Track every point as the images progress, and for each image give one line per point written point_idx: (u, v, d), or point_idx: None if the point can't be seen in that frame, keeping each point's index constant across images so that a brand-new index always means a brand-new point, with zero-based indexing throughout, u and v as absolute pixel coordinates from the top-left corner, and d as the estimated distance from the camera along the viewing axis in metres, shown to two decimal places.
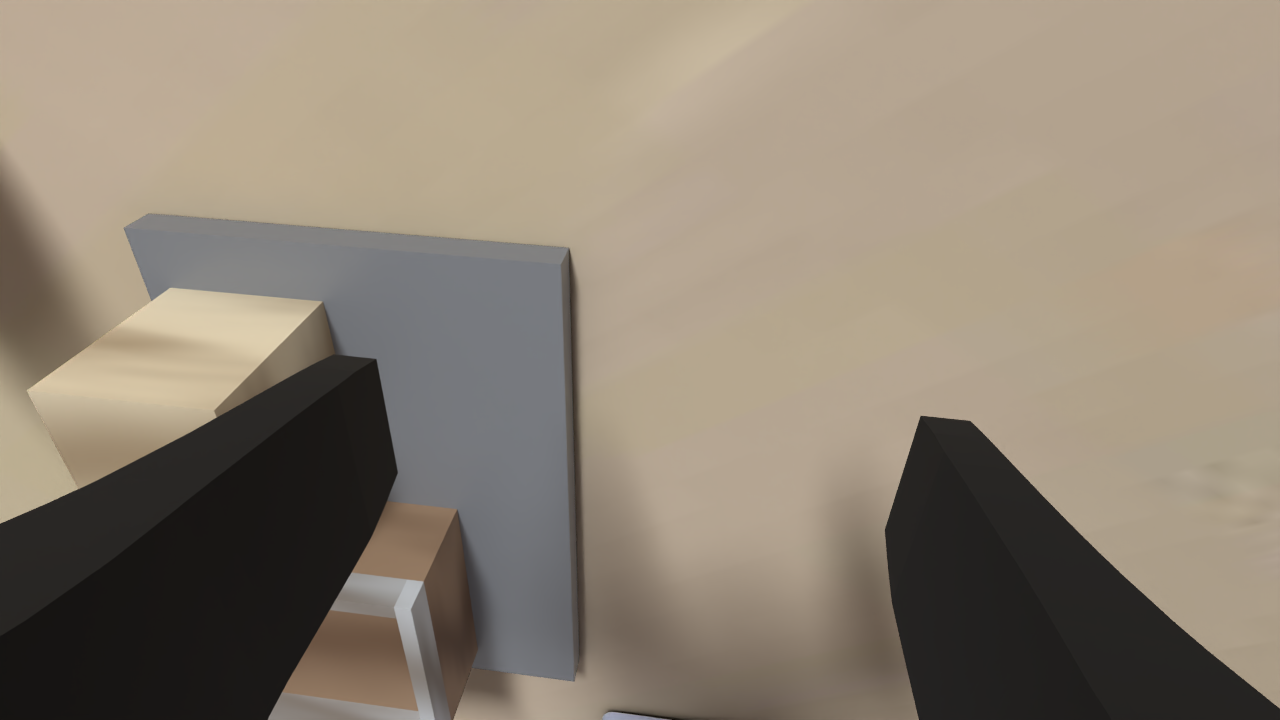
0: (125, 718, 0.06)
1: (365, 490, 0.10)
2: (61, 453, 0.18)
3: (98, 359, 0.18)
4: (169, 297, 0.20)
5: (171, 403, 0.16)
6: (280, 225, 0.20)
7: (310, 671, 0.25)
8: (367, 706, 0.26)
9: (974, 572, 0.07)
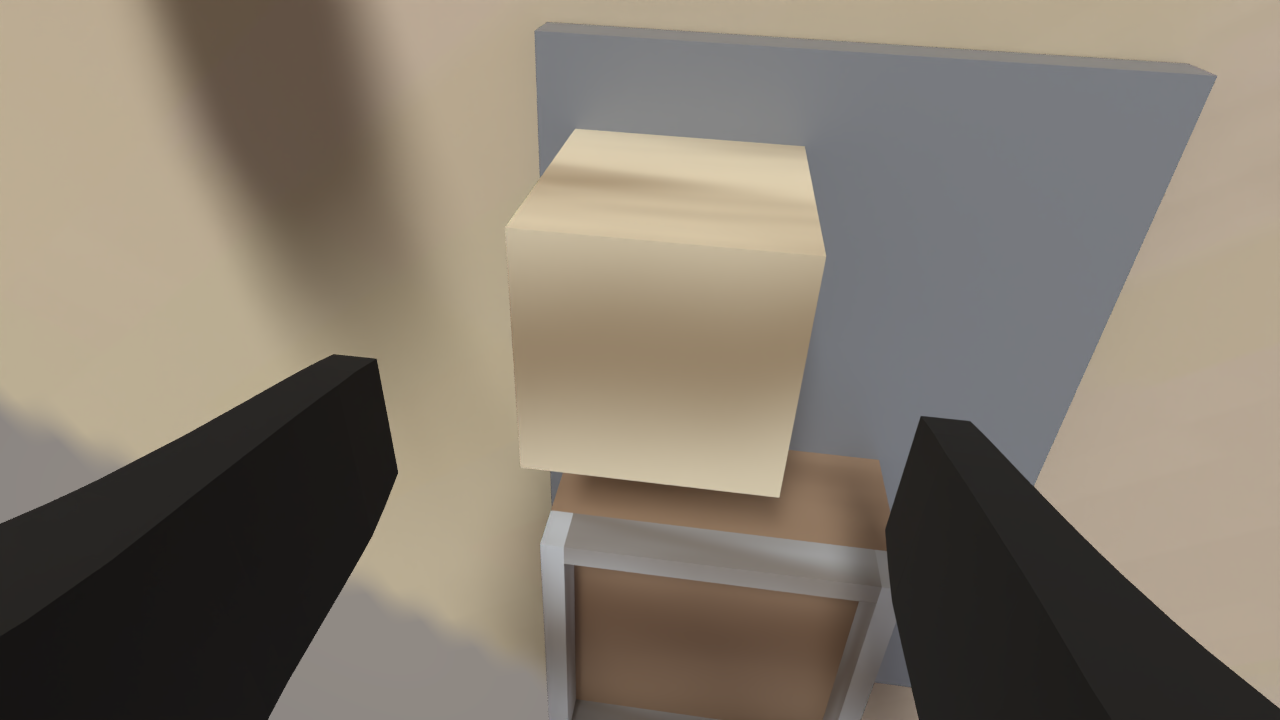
0: (125, 718, 0.06)
1: (365, 490, 0.10)
2: (515, 339, 0.11)
3: (569, 196, 0.12)
4: (587, 137, 0.14)
5: (748, 247, 0.10)
6: (747, 36, 0.14)
7: (662, 676, 0.19)
8: None
9: (974, 572, 0.07)
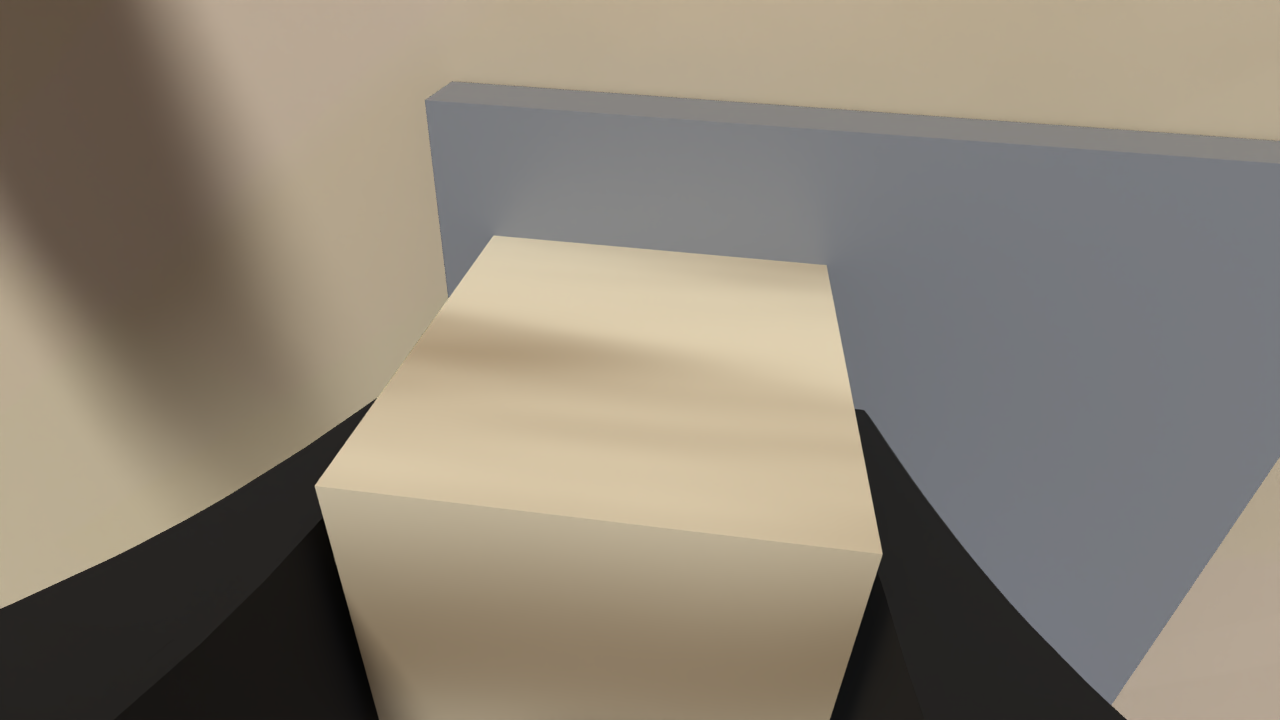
0: None
1: None
2: (360, 632, 0.07)
3: (449, 392, 0.07)
4: (507, 254, 0.10)
5: (741, 530, 0.06)
6: (742, 103, 0.10)
7: None
8: None
9: None
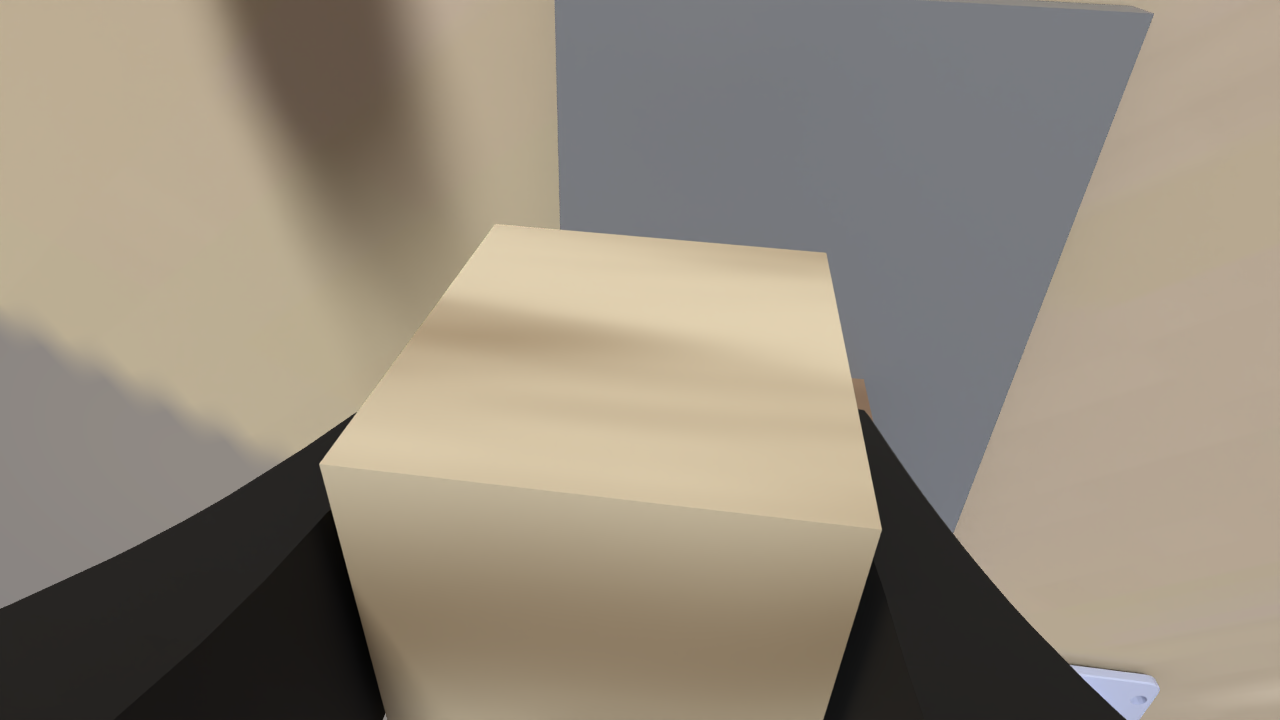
0: None
1: None
2: (363, 612, 0.07)
3: (453, 374, 0.07)
4: (509, 242, 0.10)
5: (743, 507, 0.06)
6: None
7: None
8: None
9: None
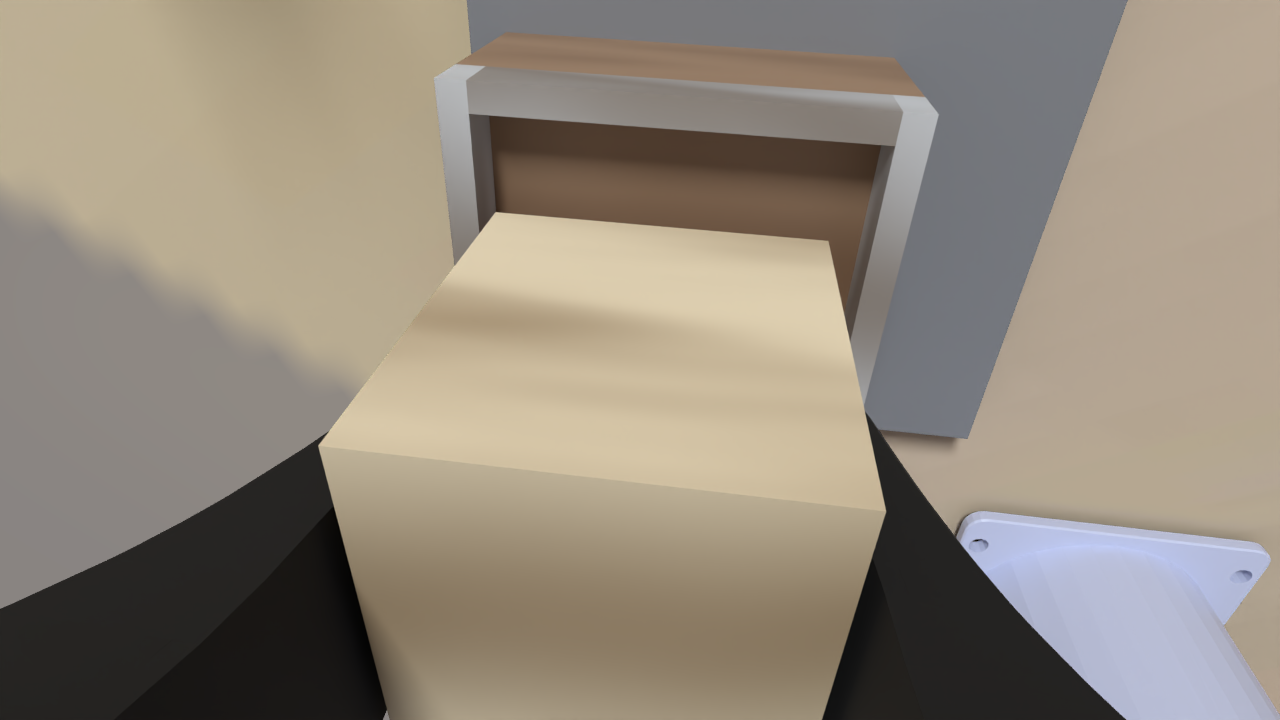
0: None
1: None
2: (363, 597, 0.07)
3: (454, 358, 0.07)
4: (510, 230, 0.10)
5: (745, 488, 0.06)
6: None
7: None
8: None
9: None
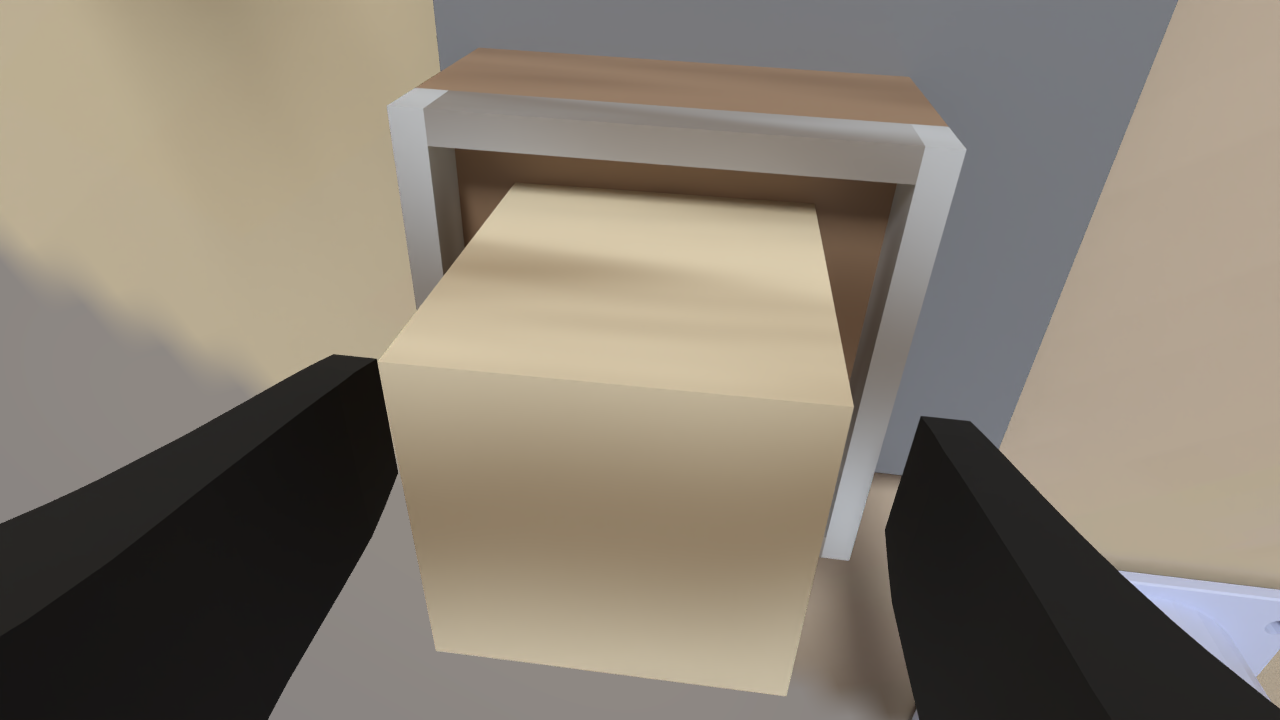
0: (125, 718, 0.06)
1: (365, 490, 0.10)
2: (411, 502, 0.08)
3: (486, 297, 0.08)
4: (529, 197, 0.11)
5: (736, 391, 0.07)
6: None
7: None
8: None
9: (974, 572, 0.07)
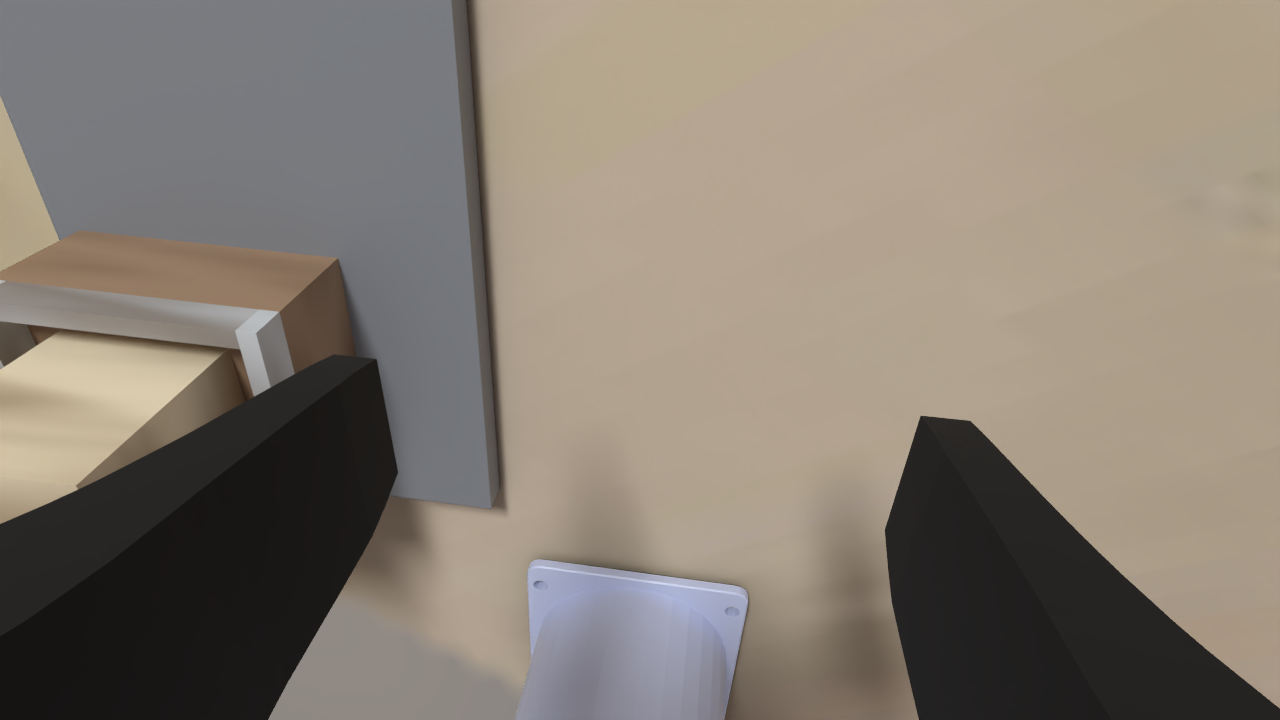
0: (125, 718, 0.06)
1: (365, 490, 0.10)
2: None
3: None
4: (57, 342, 0.18)
5: (28, 476, 0.14)
6: None
7: None
8: None
9: (974, 572, 0.07)
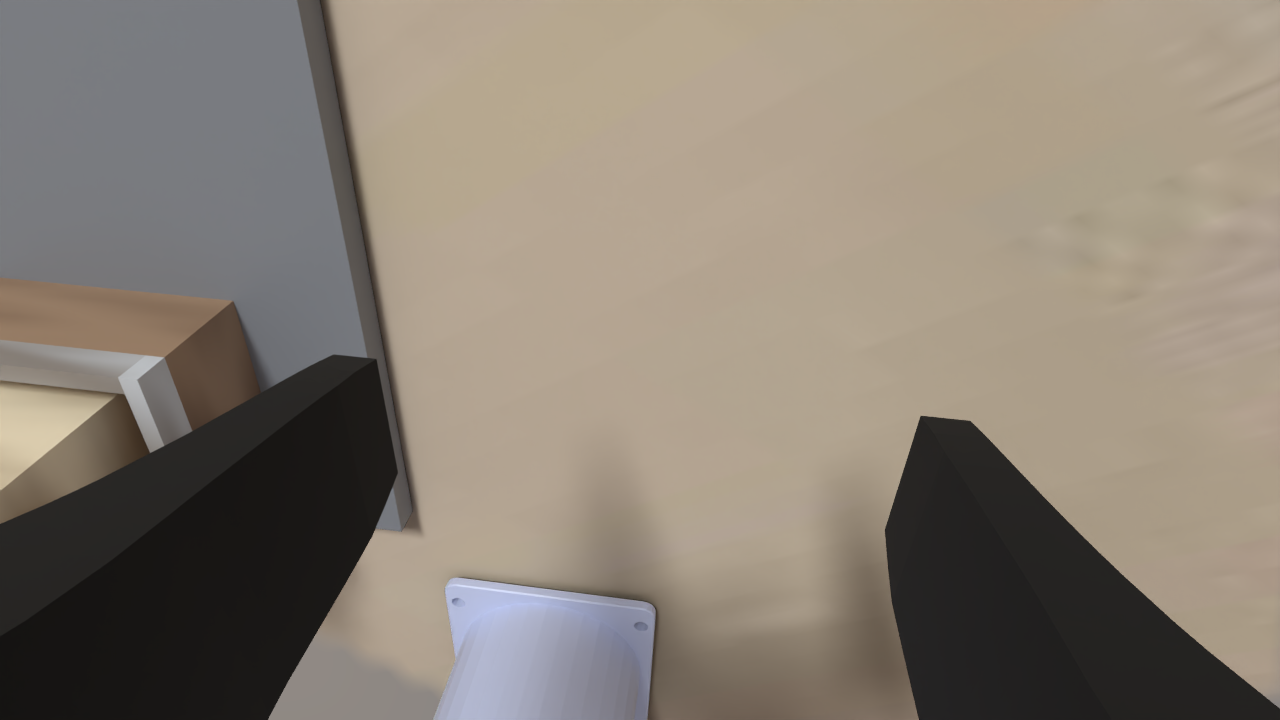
0: (125, 718, 0.06)
1: (365, 490, 0.10)
2: None
3: None
4: None
5: None
6: None
7: None
8: None
9: (974, 572, 0.07)
